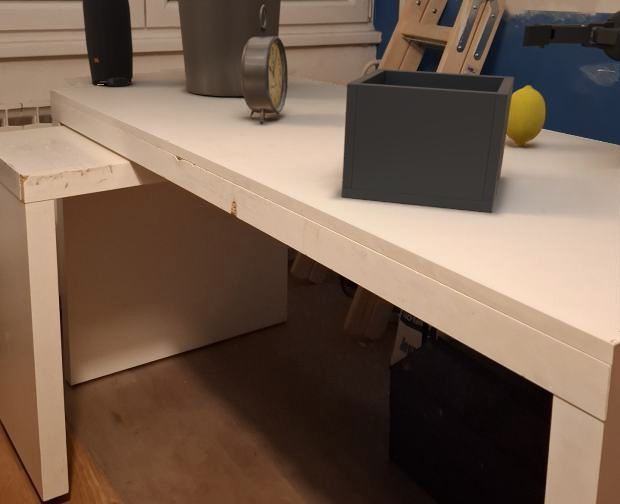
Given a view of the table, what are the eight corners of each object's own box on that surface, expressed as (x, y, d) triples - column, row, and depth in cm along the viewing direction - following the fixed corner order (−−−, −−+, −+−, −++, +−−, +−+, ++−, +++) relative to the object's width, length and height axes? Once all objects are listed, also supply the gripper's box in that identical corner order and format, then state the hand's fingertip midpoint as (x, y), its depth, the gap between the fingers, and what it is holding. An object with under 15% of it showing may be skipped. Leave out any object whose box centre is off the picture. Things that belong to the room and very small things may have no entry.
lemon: (492, 142, 105) (500, 82, 102) (527, 142, 107) (536, 82, 103) (510, 151, 101) (520, 88, 97) (548, 150, 102) (558, 88, 98)
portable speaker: (105, 88, 143) (94, -27, 134) (81, 82, 149) (69, -28, 140) (144, 85, 148) (136, -26, 139) (120, 80, 154) (111, -27, 145)
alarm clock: (269, 126, 112) (270, 6, 105) (235, 123, 113) (233, 5, 106) (289, 115, 121) (290, 4, 114) (257, 112, 122) (256, 3, 115)
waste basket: (167, 82, 153) (159, -88, 140) (265, 82, 159) (266, -82, 146) (187, 102, 130) (179, -99, 117) (301, 101, 135) (305, -92, 122)
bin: (500, 178, 86) (514, 76, 81) (491, 212, 73) (507, 94, 68) (371, 166, 90) (377, 68, 85) (341, 197, 77) (346, 83, 72)
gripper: (710, 68, 112) (653, 78, 98) (556, 53, 127) (488, 60, 114) (724, 13, 109) (667, 15, 95) (564, 4, 124) (495, 5, 110)
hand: (570, 40), depth 104 cm, fingers open, 13 cm apart
